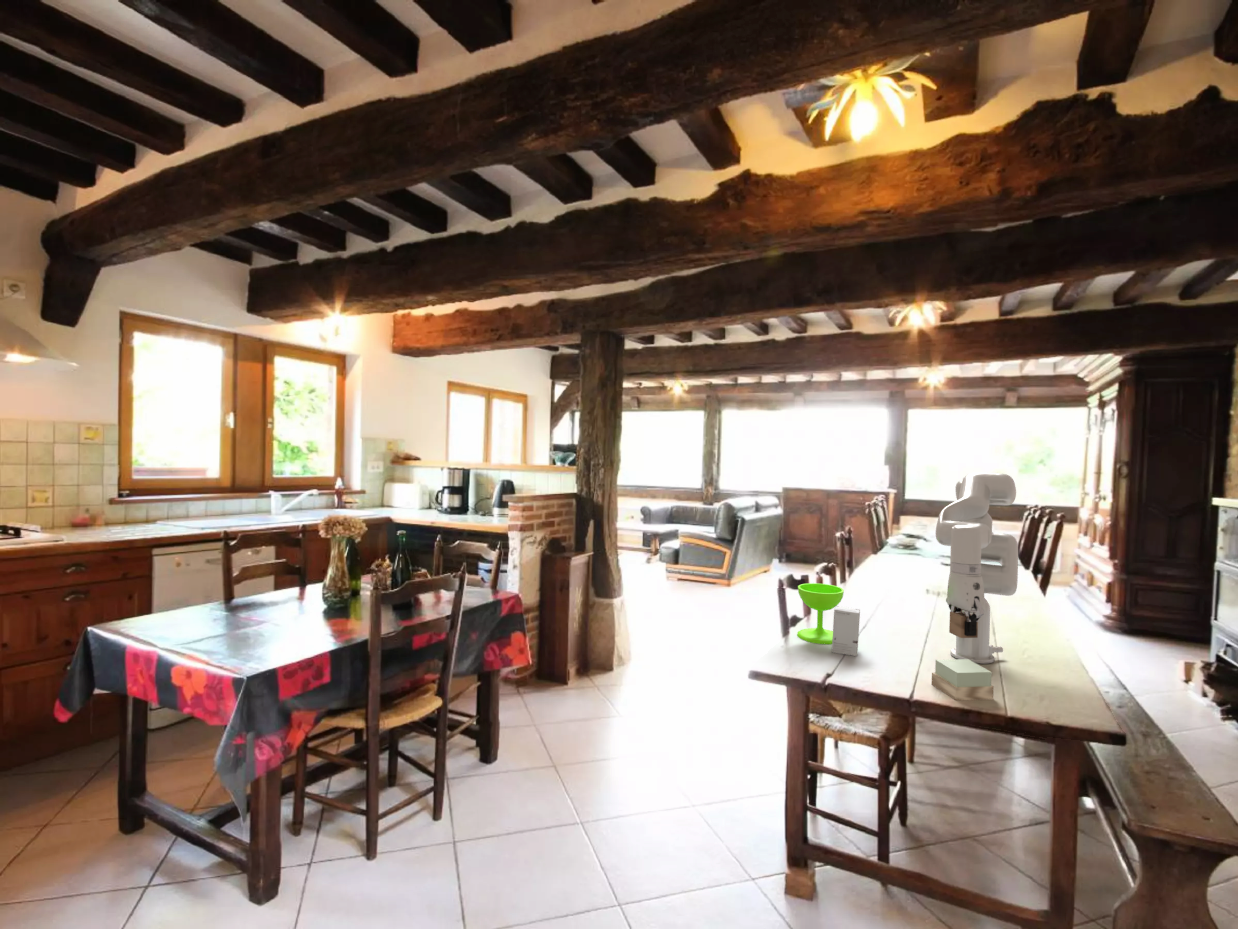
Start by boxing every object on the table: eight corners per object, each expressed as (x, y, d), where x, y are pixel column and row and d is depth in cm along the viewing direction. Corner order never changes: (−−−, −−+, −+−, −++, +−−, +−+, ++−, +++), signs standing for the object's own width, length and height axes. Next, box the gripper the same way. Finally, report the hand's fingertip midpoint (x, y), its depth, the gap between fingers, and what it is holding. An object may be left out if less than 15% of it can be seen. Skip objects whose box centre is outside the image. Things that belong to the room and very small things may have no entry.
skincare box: (831, 653, 202) (832, 609, 201) (833, 647, 207) (834, 605, 207) (858, 656, 198) (859, 612, 198) (859, 651, 204) (860, 608, 203)
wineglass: (832, 630, 227) (833, 583, 226) (850, 644, 211) (851, 593, 210) (791, 630, 226) (791, 583, 226) (805, 644, 210) (806, 593, 210)
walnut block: (965, 632, 173) (966, 611, 173) (977, 637, 168) (978, 616, 168) (949, 632, 172) (949, 611, 172) (960, 638, 167) (961, 616, 167)
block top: (967, 672, 176) (968, 659, 176) (991, 686, 166) (991, 672, 166) (935, 673, 175) (935, 659, 175) (956, 687, 165) (957, 672, 165)
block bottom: (966, 684, 177) (967, 671, 177) (993, 700, 166) (993, 686, 166) (931, 686, 176) (931, 672, 176) (955, 702, 165) (956, 687, 165)
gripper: (999, 575, 161) (997, 641, 162) (957, 563, 178) (956, 623, 179) (973, 575, 161) (971, 642, 161) (934, 563, 178) (932, 623, 178)
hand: (963, 631), depth 170 cm, fingers closed on walnut block, 5 cm apart
